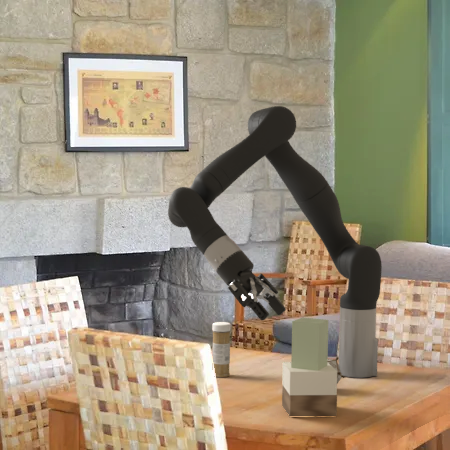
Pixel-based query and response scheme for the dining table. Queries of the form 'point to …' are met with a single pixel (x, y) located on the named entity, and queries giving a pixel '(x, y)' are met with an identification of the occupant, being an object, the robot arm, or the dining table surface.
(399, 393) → the dining table surface
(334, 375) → the tower top
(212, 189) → the robot arm
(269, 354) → the dining table surface
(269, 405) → the dining table surface
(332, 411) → the tower bottom
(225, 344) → the sprinkles bottle
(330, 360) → the game die
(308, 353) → the sage block
